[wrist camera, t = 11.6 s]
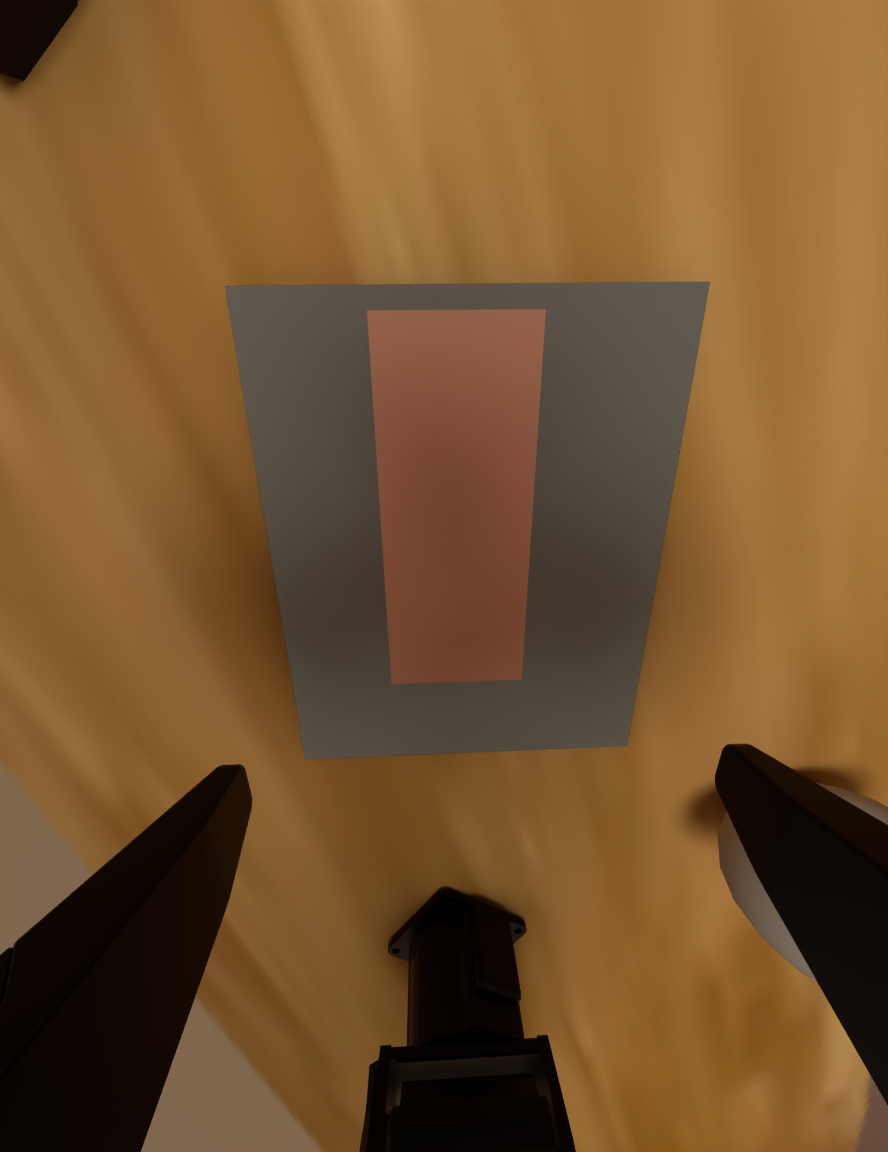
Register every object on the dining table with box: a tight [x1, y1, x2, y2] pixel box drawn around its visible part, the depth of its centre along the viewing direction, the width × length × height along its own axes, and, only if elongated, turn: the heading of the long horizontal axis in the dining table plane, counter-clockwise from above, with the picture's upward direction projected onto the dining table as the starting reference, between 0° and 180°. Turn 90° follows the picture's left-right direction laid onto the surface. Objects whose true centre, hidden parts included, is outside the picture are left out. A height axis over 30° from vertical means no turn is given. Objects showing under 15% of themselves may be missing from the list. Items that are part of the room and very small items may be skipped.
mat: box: [225, 282, 710, 759], centre depth 20 cm, size 20×16×1 cm
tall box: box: [367, 309, 546, 684], centre depth 17 cm, size 3×5×12 cm
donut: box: [718, 783, 888, 982], centre depth 22 cm, size 10×4×10 cm, turn 98°
